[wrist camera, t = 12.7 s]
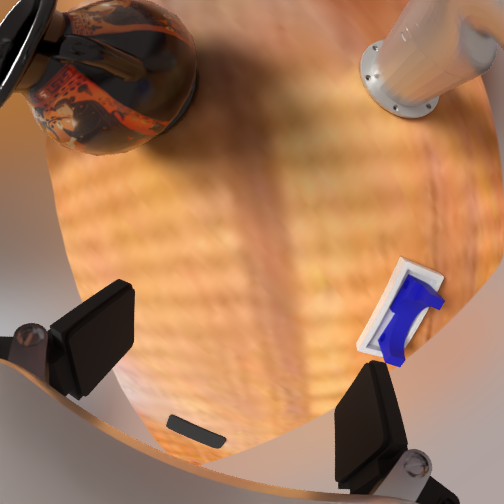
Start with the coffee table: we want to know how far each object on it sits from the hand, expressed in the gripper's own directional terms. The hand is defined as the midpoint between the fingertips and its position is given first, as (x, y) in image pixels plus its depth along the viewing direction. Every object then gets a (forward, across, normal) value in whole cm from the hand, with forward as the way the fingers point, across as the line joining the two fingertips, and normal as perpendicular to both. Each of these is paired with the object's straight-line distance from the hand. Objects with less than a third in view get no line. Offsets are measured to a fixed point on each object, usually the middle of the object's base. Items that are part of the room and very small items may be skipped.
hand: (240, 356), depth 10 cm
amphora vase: (+29, +25, -14) cm, 41 cm away
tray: (+29, -21, +8) cm, 37 cm away
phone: (+29, +6, +56) cm, 64 cm away
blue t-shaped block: (+29, -21, +8) cm, 37 cm away
